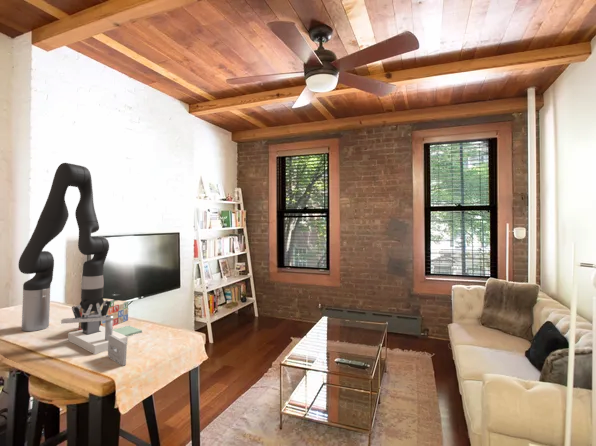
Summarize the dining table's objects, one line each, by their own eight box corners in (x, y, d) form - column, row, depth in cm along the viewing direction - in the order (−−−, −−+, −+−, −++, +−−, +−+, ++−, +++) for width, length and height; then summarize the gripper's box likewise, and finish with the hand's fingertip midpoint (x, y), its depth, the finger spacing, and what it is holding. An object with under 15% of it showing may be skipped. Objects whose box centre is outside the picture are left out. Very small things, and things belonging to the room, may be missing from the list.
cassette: (127, 364, 109) (128, 342, 109) (121, 366, 107) (122, 343, 107) (111, 354, 116) (112, 333, 116) (106, 356, 114) (107, 335, 114)
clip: (113, 318, 124) (113, 315, 124) (112, 320, 121) (112, 317, 121) (63, 321, 118) (63, 318, 118) (60, 323, 115) (61, 320, 115)
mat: (106, 333, 136) (106, 331, 136) (129, 327, 145) (129, 325, 145) (118, 338, 131) (118, 336, 131) (142, 332, 139) (142, 330, 139)
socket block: (68, 340, 127) (69, 314, 127) (100, 332, 137) (100, 308, 137) (94, 354, 116) (95, 325, 116) (127, 344, 126) (128, 318, 126)
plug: (82, 339, 129) (83, 314, 129) (93, 336, 132) (94, 312, 132) (87, 341, 126) (88, 316, 126) (98, 338, 130) (99, 314, 130)
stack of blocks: (117, 319, 156) (118, 293, 156) (128, 320, 155) (129, 295, 155) (77, 333, 135) (78, 304, 135) (89, 335, 134) (91, 305, 134)
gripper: (106, 282, 137) (104, 322, 137) (68, 287, 125) (66, 331, 125) (115, 285, 133) (113, 326, 133) (77, 290, 121) (75, 335, 121)
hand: (91, 328), depth 129 cm, fingers closed on plug, 4 cm apart
